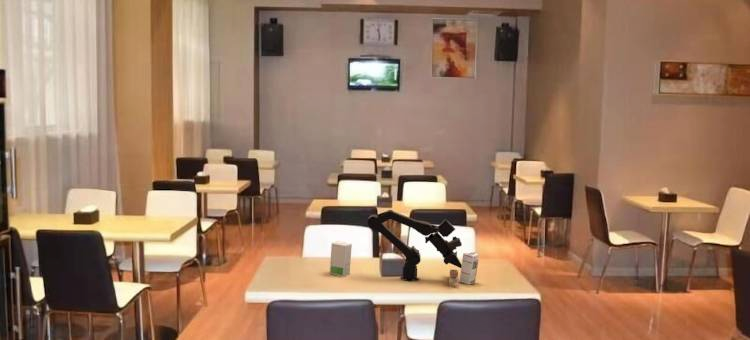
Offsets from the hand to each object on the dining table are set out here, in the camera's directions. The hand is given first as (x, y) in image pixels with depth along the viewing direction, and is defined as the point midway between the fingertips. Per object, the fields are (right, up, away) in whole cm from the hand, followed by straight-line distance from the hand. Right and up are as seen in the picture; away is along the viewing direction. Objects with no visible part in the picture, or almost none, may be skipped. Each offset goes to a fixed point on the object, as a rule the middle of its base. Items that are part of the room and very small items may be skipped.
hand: (461, 267), depth 333 cm
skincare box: (-59, -5, +7) cm, 59 cm away
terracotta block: (-3, -7, +7) cm, 10 cm away
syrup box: (+2, -7, 0) cm, 8 cm away
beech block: (-5, -8, -6) cm, 11 cm away
